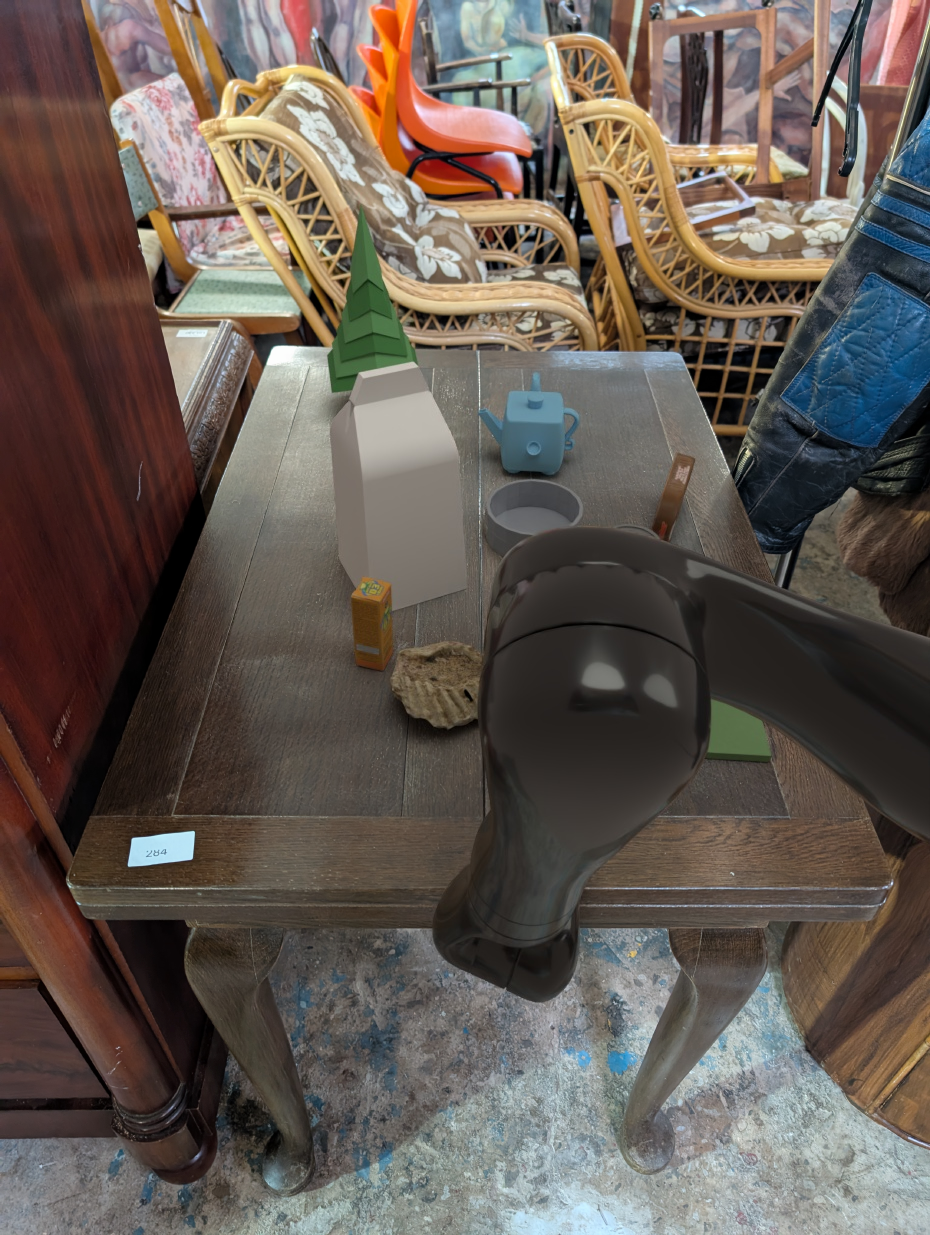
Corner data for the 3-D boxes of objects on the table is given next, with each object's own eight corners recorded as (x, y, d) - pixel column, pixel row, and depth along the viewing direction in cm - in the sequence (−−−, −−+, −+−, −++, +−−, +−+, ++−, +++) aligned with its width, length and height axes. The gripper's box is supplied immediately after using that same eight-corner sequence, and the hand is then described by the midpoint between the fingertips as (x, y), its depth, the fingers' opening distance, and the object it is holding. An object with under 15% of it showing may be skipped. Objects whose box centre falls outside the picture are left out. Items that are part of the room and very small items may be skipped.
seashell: (490, 752, 80) (509, 659, 83) (493, 735, 73) (514, 636, 77) (382, 728, 80) (405, 638, 84) (375, 710, 74) (401, 613, 78)
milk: (372, 617, 90) (350, 408, 72) (339, 559, 98) (312, 357, 80) (467, 588, 94) (469, 382, 76) (429, 535, 101) (422, 336, 84)
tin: (664, 493, 108) (676, 438, 103) (687, 498, 108) (700, 443, 102) (642, 557, 98) (653, 500, 92) (667, 563, 97) (680, 506, 92)
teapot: (576, 497, 108) (584, 431, 101) (473, 492, 108) (474, 426, 101) (573, 430, 121) (580, 367, 114) (481, 426, 122) (482, 364, 115)
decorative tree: (351, 383, 132) (330, 184, 111) (439, 399, 128) (434, 195, 108) (312, 422, 122) (282, 211, 102) (406, 439, 119) (394, 225, 98)
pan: (597, 548, 99) (602, 519, 96) (513, 575, 96) (515, 545, 92) (549, 499, 107) (551, 470, 104) (469, 521, 103) (469, 492, 100)
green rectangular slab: (768, 762, 75) (771, 755, 75) (705, 758, 76) (707, 752, 75) (752, 698, 81) (755, 692, 80) (693, 695, 81) (695, 689, 81)
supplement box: (385, 673, 84) (379, 602, 77) (355, 666, 84) (346, 595, 78) (396, 651, 86) (391, 581, 79) (367, 645, 87) (359, 574, 80)
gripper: (656, 757, 64) (695, 621, 75) (501, 709, 67) (561, 586, 79) (641, 810, 69) (680, 675, 81) (498, 763, 72) (555, 640, 84)
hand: (621, 631), depth 80 cm, fingers closed
